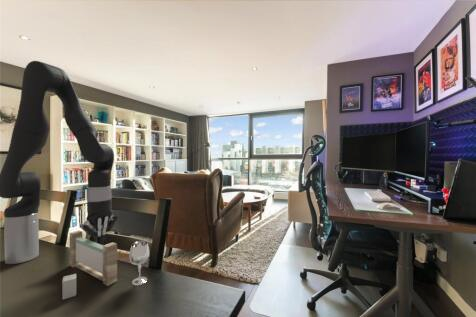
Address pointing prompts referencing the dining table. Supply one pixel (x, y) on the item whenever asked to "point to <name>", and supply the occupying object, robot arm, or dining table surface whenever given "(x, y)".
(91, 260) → the panel
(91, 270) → the gate frame
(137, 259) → the wineglass
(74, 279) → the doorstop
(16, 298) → the dining table surface
